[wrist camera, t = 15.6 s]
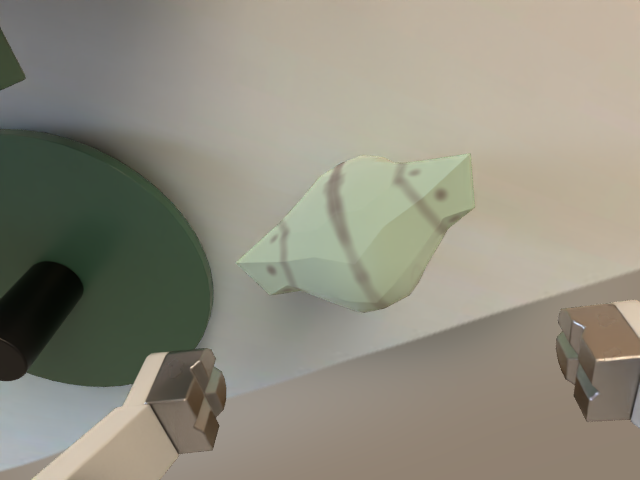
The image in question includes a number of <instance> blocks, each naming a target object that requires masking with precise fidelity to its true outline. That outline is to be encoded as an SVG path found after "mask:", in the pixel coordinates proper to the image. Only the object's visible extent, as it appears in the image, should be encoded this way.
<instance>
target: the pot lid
mask: <svg viewBox="0 0 640 480" xmlns="http://www.w3.org/2000/svg"><path fill="white" fill-rule="evenodd" d="M212 305H213V283H212V277H211V271H210V267H209V264H208V261H207V258H206V255H205V252H204V250H203V248H202V246H201V244H200V242H199V240H198V238H197V236H196V234H195V233H194V231H193V230H192V228H191V227H190V225H189V224H188V222H187V220H186V219H185V218H184V217H183V215H182V214H181V213H180V212H179V211H178V209H177V208H176V207H175V206H174V205H173V203H172V202H171V201H170V200H169V199H168V198H166V197H165V196H164V195H163V194H162V193H161V192H160V191H159V190H158V189H157V188H156V187H155V186H154V185H152V184H151V183H150V182H149V181H147V180H146V179H145V178H143V177H142V176H141V175H140V174H138V173H137V172H136V171H134V170H132V169H131V168H129V167H128V166H126V165H124V164H123V163H121V162H120V161H118V160H117V159H115V158H113V157H111V156H109V155H107V154H105V153H103V152H101V151H99V150H97V149H95V148H92V147H90V146H87V145H84V144H82V143H79V142H76V141H74V140H71V139H67V138H64V137H60V136H56V135H52V134H48V133H43V132H36V131H28V130H20V129H0V381H13V380H16V379H19V378H21V377H22V376H24V375H25V374H26V372H27V373H29V374H32V375H35V376H38V377H42V378H45V379H49V380H52V381H57V382H62V383H67V384H73V385H81V386H93V387H111V386H123V385H129V384H134V382H135V380H136V378H137V376H138V374H139V371H140V369H141V367H142V365H143V363H144V361H145V359H146V357H147V356H149V355H150V354H151V353H160V352H170V351H178V350H190V349H195V348H196V347H197V345H198V343H199V342H200V340H201V338H202V337H203V335H204V332H205V329H206V327H207V324H208V321H209V318H210V315H211V310H212Z"/></svg>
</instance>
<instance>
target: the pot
mask: <svg viewBox="0 0 640 480" xmlns="http://www.w3.org/2000/svg"><path fill="white" fill-rule="evenodd" d="M25 78H26V77H25V74H24V72H23V71H22V69H21V67H20V65H19V63H18V61H17V59H16V57H15V55H14V53H13V51H12V49H11V47H10V45H9V43H8V41H7V39H6V37H5V35H4V34H3V32H2V30H1V28H0V90H2V89H5V88H7V87H9V86H11V85H14V84H16V83H18V82H21V81H23V80H24V79H25Z"/></svg>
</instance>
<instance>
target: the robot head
mask: <svg viewBox="0 0 640 480" xmlns="http://www.w3.org/2000/svg"><path fill="white" fill-rule="evenodd" d="M473 208H475V203H474V191H473V178H472V166H471V154H463V155H457V156H450V157H443V158H436V159H429V160H423V161H416V162H409V163H394V162H392V161H390V160H388V159H386V158H384V157H375V156H365V155H362V156H359V157H356V158H354V159H351V160H348V161H346V162H343V163H341V164H339V165H337V166H336V167H334V168H333V169H331V170H330V171H328V172H326V173H325V174H323V175H322V176H320V177H319V178H318V179H317V181H316V182H315V183H314V184H313V185H312V187H311V188H310V189H309V190H308V192H307V193H306V194H305V195H304V196H303V197H302V198H301V200H300V201H299V202H298V203H297V204H296V205H295V206H294V207H293V208H292V210H291V211H290V212H289V213H288V214H287V215H286V216H285V217H284V218H283V220H282V221H281V222H280V223H279V224H278V225H277V226H276V227H274V228H273V229H272V230H271V231H270V232H269V233H268V234H267V235H266V236H264V237H263V238H262V239H261V240H260V241H259V242H258V243H257V244H256V245H255V246H253V247H252V248H251V249H250V250H249V251H248V252H247V253H246V254H245V255H243V256H242V257H241V258H240V259H239V260H238V261H237V262H236V264H237V265H238V266H239V267H240V268H242V269H243V270H244V271H245V272H246V273H247V274H248V275H249V276H250V277H251V278H252V279H253V280H254V281H255V282H256V283H257V284H258V285H260V286H261V287H262V288H263V289H264V290H265V291H266V292H267V293H268V294H269V295H275V294H282V293H289V292H297V291H303V292H306V293H308V294H311V295H313V296H316V297H319V298H321V299H324V300H326V301H329V302H332V303H334V304H337V305H340V306H343V307H346V308H348V309H351V310H354V311H358V312H363V313H365V312H370V311H375V310H379V309H384V308H386V307H388V306H390V305H392V304H394V303H396V302H398V301H399V300H401V299H403V298H405V297H407V296H409V295H410V294H411V292H412V291H413V290H414V288H415V287H416V285H417V284H418V283H419V281H420V279H421V277H422V275H423V272H424V270H425V268H426V266H427V264H428V263H429V261H430V259H431V257H432V256H433V254H434V252H435V251H436V249H437V247H438V245H439V244H440V242H441V240H442V239H443V237H444V235H445V233H446V232H447V230H448V229H449V228H450V227H451V226H452V225H454V224H455V223H456V222H457V221H458V220H460V219H461V218H462V217H463V216H465V215H466V214H467V213H468V212H470V211H471V210H472V209H473Z"/></svg>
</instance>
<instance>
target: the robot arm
mask: <svg viewBox="0 0 640 480" xmlns="http://www.w3.org/2000/svg"><path fill="white" fill-rule="evenodd" d="M558 323H559V325H560V327H561V329H562V332H561V333H560V334H559V335H558V336H557V339H556V351H557V357H558V362H559V365H560V368H561V371H562V373H563V374H564V377H565V379H566V380H568V381H569V382H571V383H572V384H574V385H575V389H574V397H575V399H576V401H577V403H578V405H579V407H580V409H581V411H582V413H583V415H584V417H585V419H586V421H587V422H590V421H591V422H593V421H613V420H631V422H632V423H633V424H634V425H636V426H637V427H638V428H640V302H639V301H637V300H629V301H620V302H612V303H606V304H597V305H589V306H580V307H571V308H563V309H561V310H560V312H559V317H558ZM215 360H216V358H215V356H214V354H213V352H212V350H211V349H208V348H202V349H190V350H178V351H170V352H160V353H151V354H150V355H149V356H147V357H146V359H145V361H144V363H143V365H142V367H141V369H140V371H139V374H138V376H137V378H136V380H135V382H134V384H133V386H132V388H131V390H130V392H129V394H128V396H127V398H126V400H125V402H124V404H123V406H122V407H116V408H115V409H114V410H113V411H112V412H110V413H109V414H108V415H107V416H106V417H104V418H103V419H102V420H101V421H100V422H98V423H97V424H96V425H95V426H94V427H93V428H91V429H90V430H89V431H88V432H87V433H85V434H84V435H83V436H82V437H81V438H79V439H78V440H77V441H76V442H75V443H74V444H72V445H71V446H70V447H69V448H68V449H66V450H65V451H64V452H63V453H62V454H61V455H59V456H58V457H57V458H56V459H55V460H53V461H52V462H51V463H50V464H49V465H48V466H46V467H45V468H44V469H43V470H42V471H41V472H39V473H38V474H37V475H36V476H35V477H34V478H32V479H31V480H160V479H161V478H162V477H163V475H164V474H165V473H166V471H167V470H168V469H169V468H170V467H171V465H172V464H173V463H174V462H175V461H176V459H177V458H178V457H179V454H183V453H192V452H201V451H211V450H213V447H214V443H215V440H216V436H217V432H218V428H219V424H218V422H217V420H216V417H217V416H218V415H219V414H220V413H221V412H222V411H223V410H224V406H225V402H226V383H225V378H224V376H223V374H222V371H220V370H219V369H217V368H216V367H214V364H215Z"/></svg>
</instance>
